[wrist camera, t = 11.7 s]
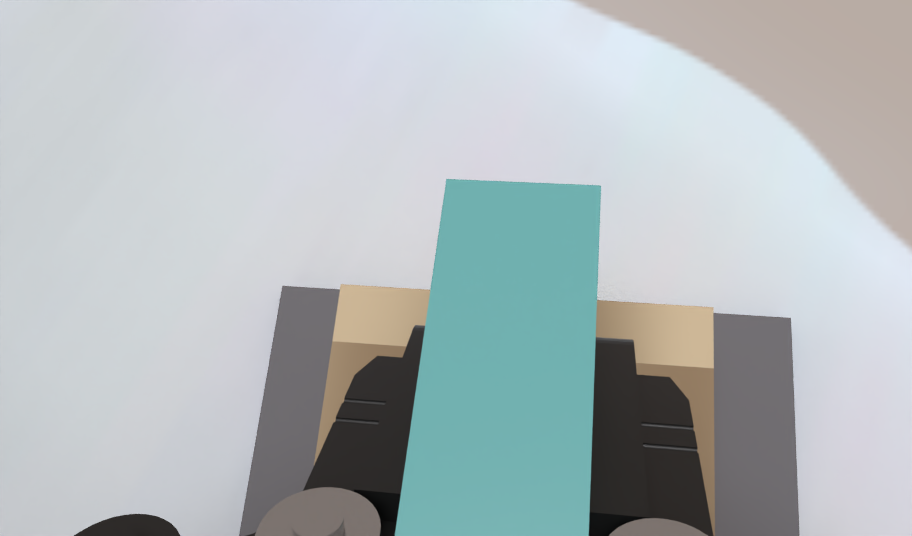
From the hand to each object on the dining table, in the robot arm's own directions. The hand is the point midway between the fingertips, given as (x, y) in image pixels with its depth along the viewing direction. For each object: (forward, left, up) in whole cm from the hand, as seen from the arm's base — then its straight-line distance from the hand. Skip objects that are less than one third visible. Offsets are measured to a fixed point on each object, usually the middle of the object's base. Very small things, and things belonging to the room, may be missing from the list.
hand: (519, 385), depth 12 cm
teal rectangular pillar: (0, -3, -6) cm, 7 cm away
